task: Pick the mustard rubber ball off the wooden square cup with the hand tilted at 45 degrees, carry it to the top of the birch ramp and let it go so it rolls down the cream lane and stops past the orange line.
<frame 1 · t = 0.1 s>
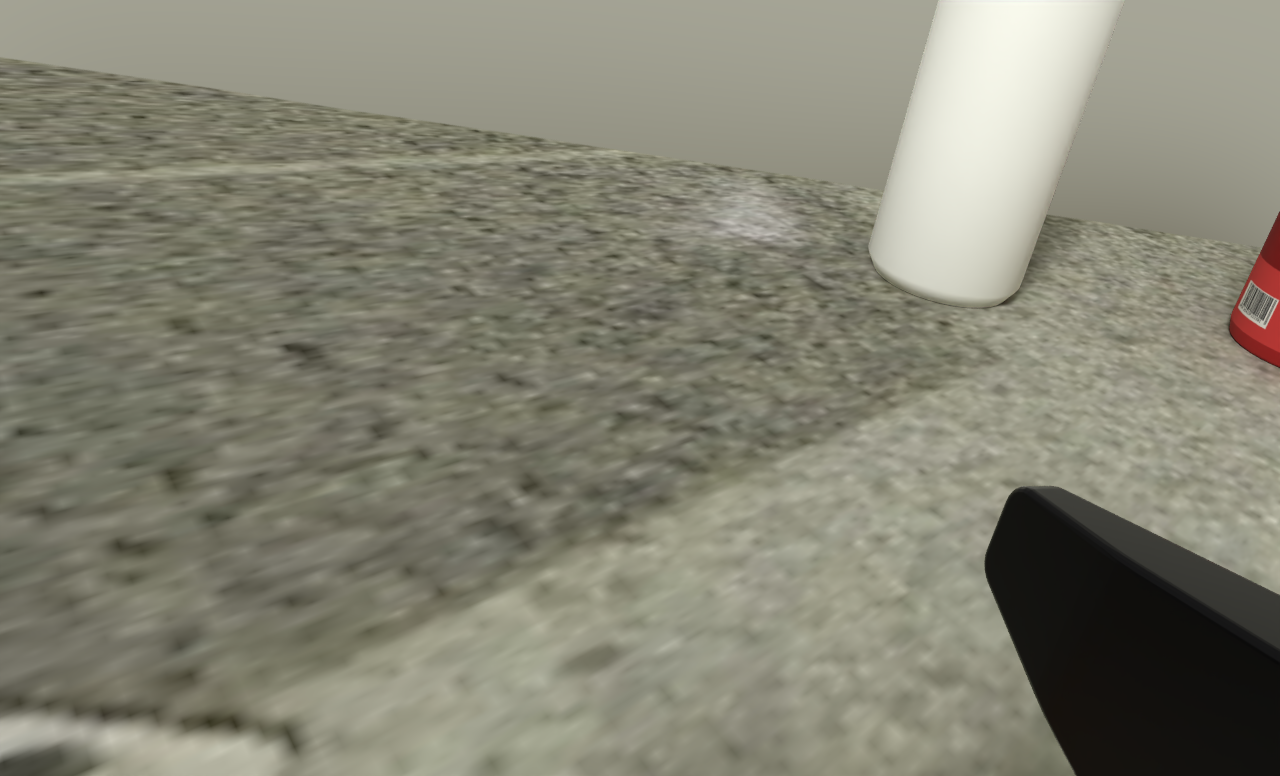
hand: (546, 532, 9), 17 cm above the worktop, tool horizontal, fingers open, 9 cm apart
alcohol: (938, 281, 63), on the worktop
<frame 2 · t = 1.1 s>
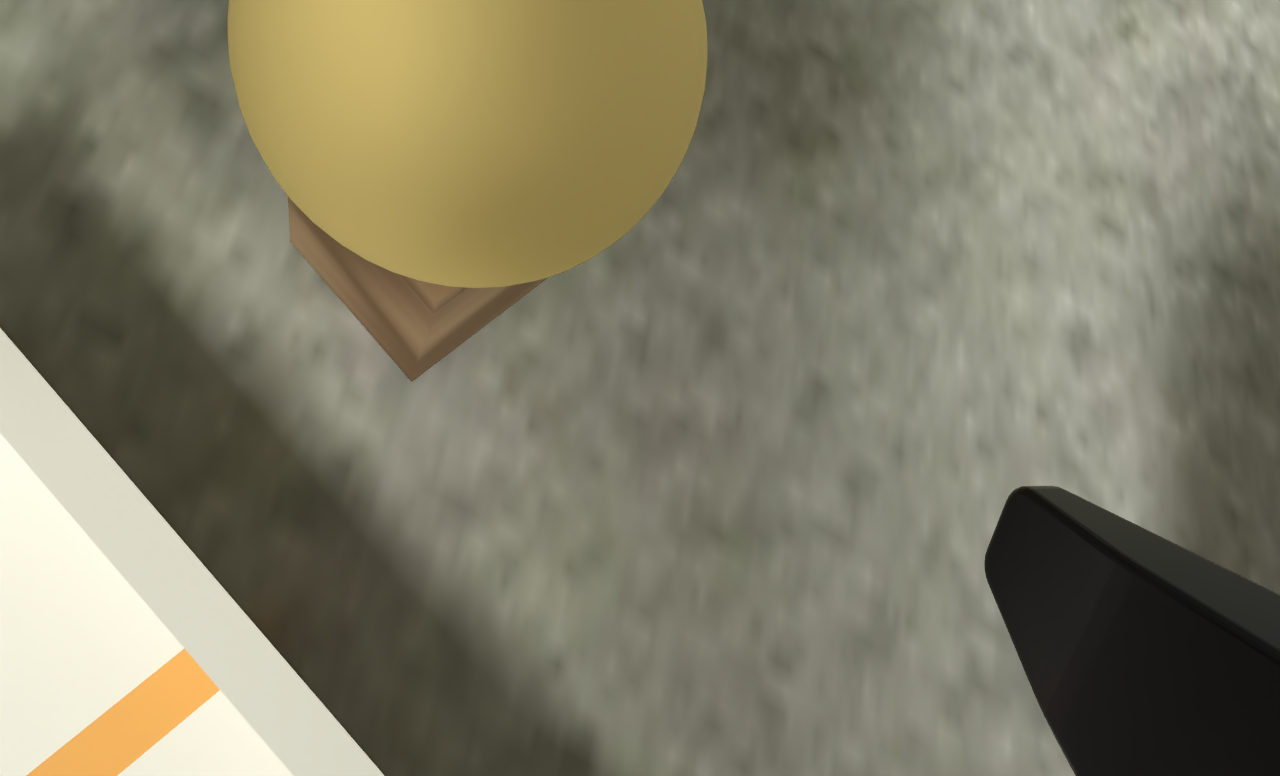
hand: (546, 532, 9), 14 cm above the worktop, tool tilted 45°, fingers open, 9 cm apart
ball: (475, 55, 16), point 8 cm above the worktop, touching wooden square cup
wooden square cup: (423, 259, 24), on the worktop
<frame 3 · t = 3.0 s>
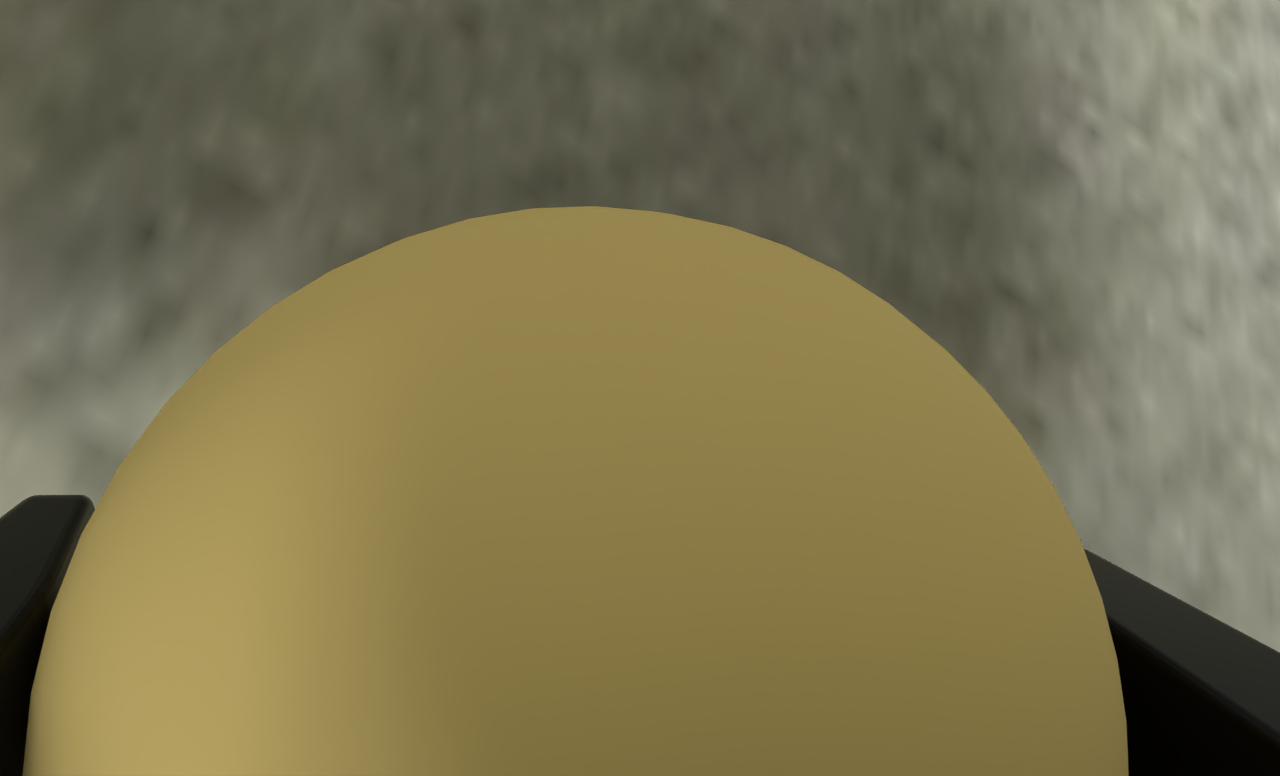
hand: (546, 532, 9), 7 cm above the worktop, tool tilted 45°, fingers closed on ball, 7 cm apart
ball: (588, 705, 8), point 8 cm above the worktop, touching gripper, wooden square cup
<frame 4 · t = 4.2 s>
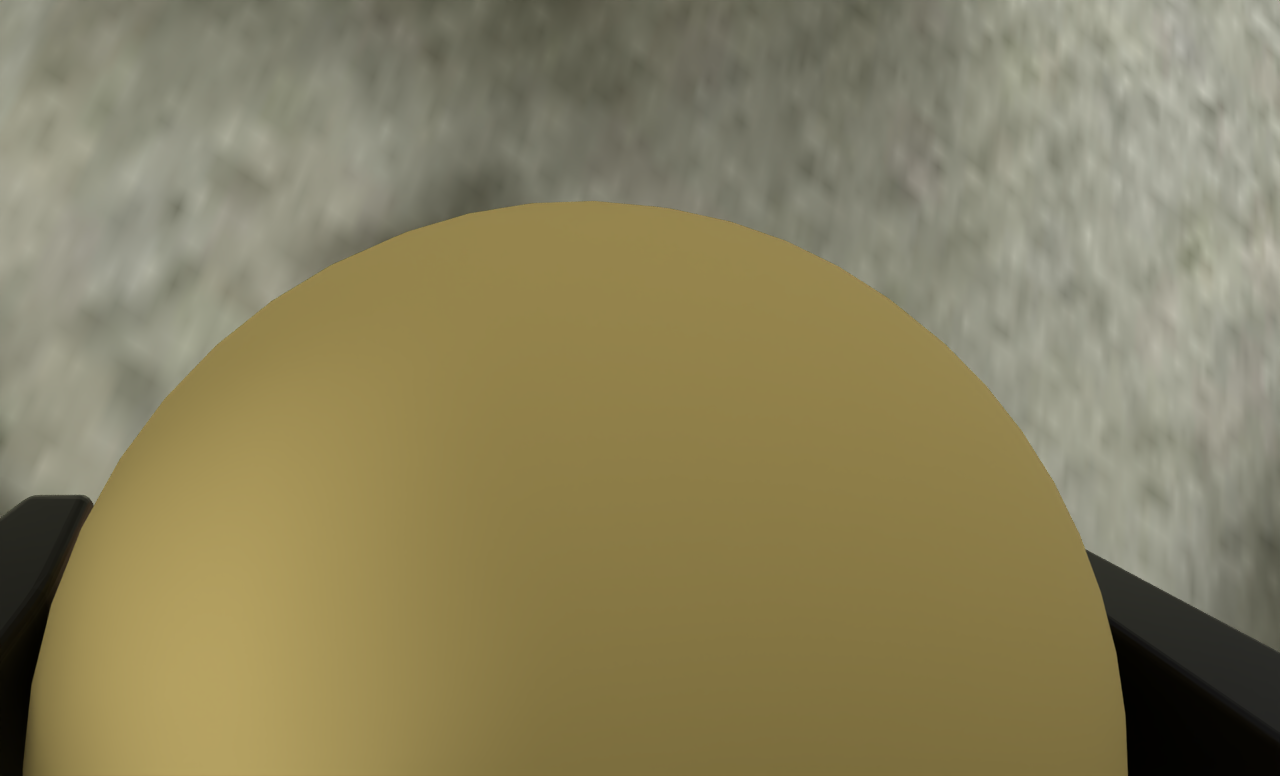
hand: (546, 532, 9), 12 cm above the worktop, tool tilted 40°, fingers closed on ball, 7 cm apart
ball: (588, 700, 8), point 14 cm above the worktop, touching gripper
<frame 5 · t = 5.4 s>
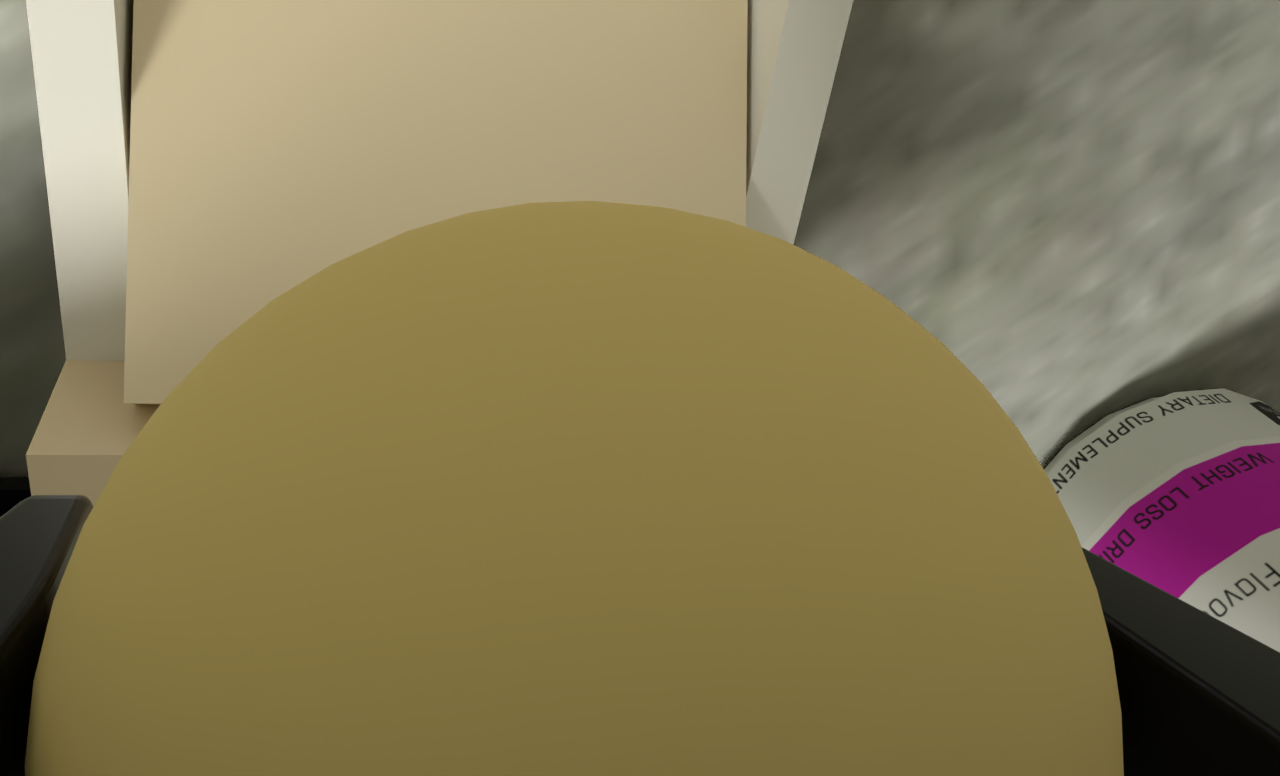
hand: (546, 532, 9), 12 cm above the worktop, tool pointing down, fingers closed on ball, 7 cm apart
supplement can: (1126, 501, 29), on the worktop
ball: (587, 697, 8), point 14 cm above the worktop, tilted 46°, touching gripper
when the fingers open (9 cm above the worktop, at t = 6.2 s): ball drops 7 cm, resting on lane.
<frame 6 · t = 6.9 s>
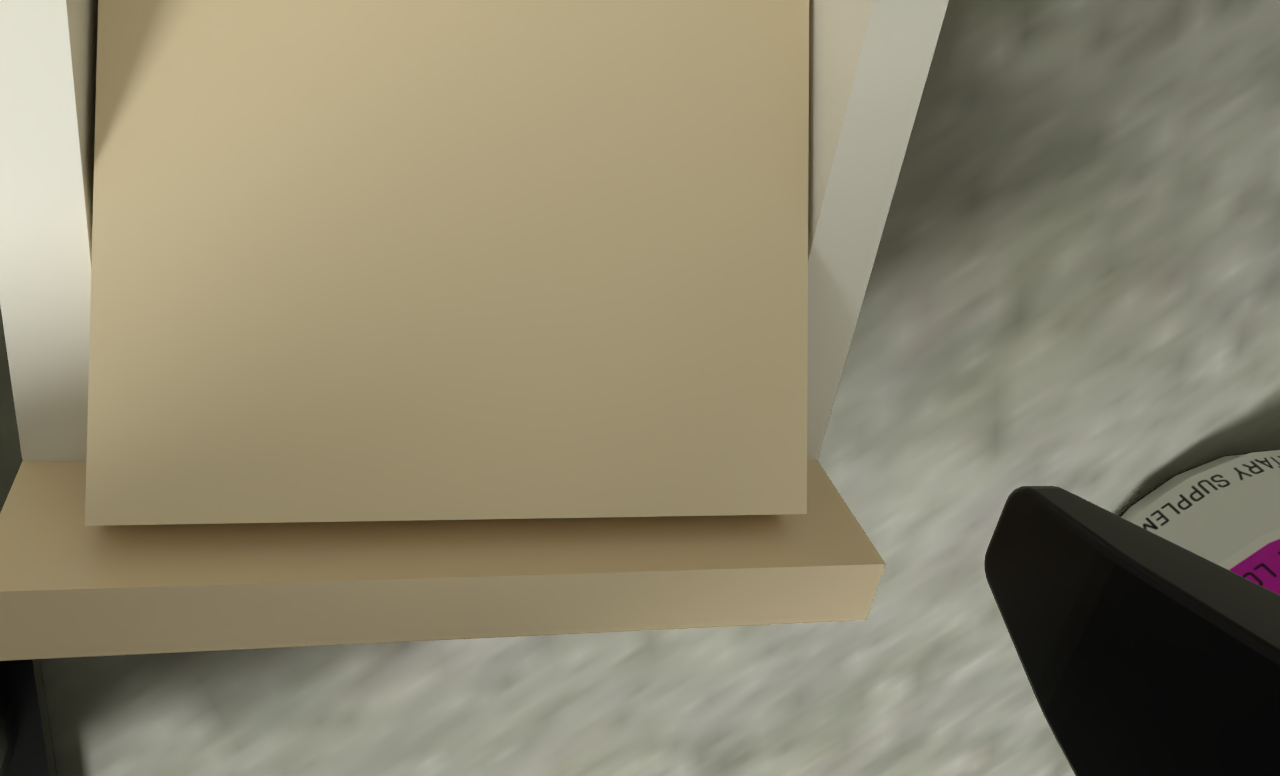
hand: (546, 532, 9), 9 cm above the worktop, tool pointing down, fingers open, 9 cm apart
supplement can: (1191, 564, 27), on the worktop
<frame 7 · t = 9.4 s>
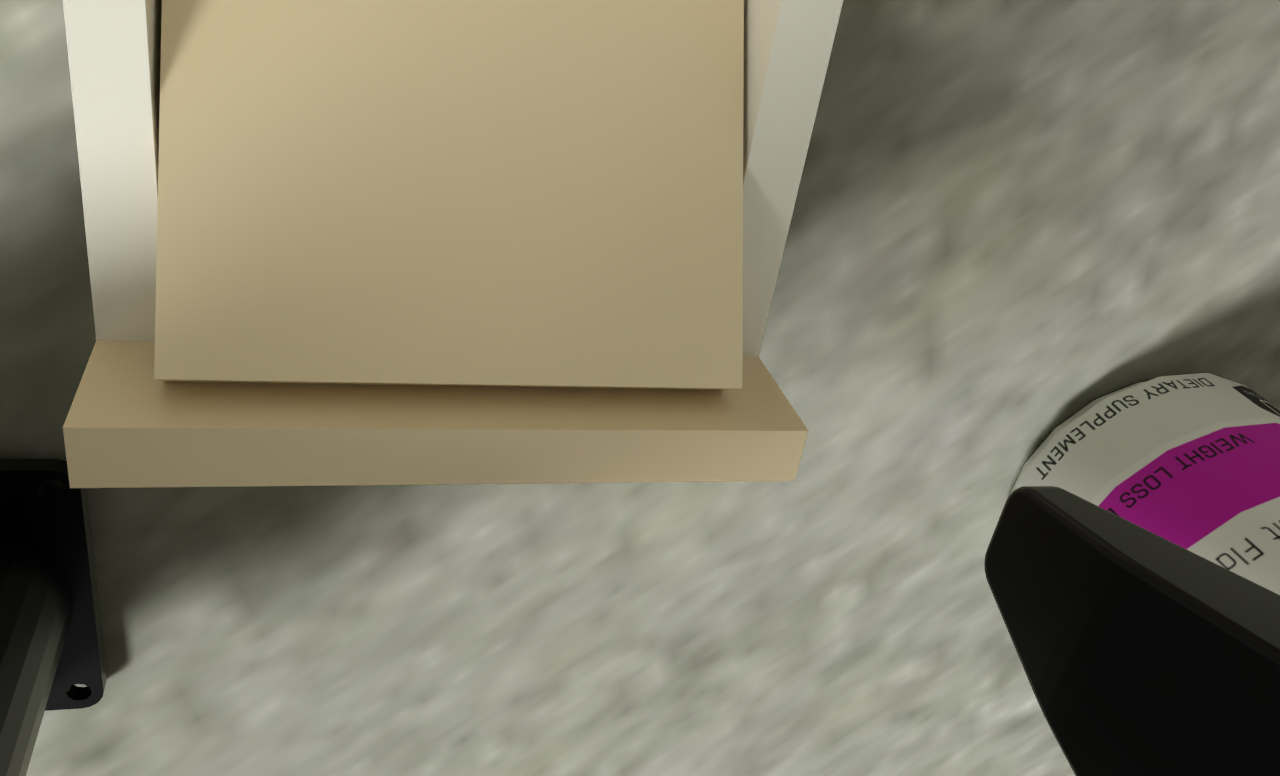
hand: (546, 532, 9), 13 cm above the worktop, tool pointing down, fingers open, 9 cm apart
supplement can: (1115, 484, 30), on the worktop
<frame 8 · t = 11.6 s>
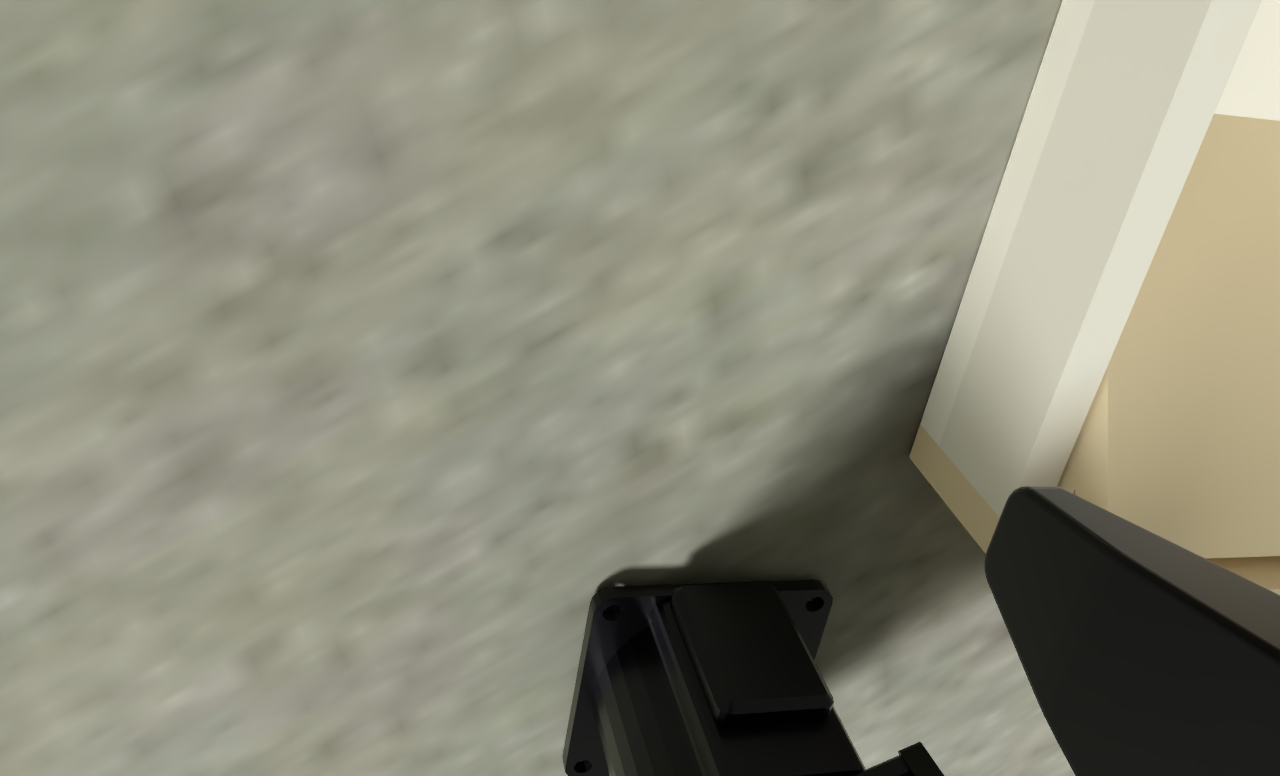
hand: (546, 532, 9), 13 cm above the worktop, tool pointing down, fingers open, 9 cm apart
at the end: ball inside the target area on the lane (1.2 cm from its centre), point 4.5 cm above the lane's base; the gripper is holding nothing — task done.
